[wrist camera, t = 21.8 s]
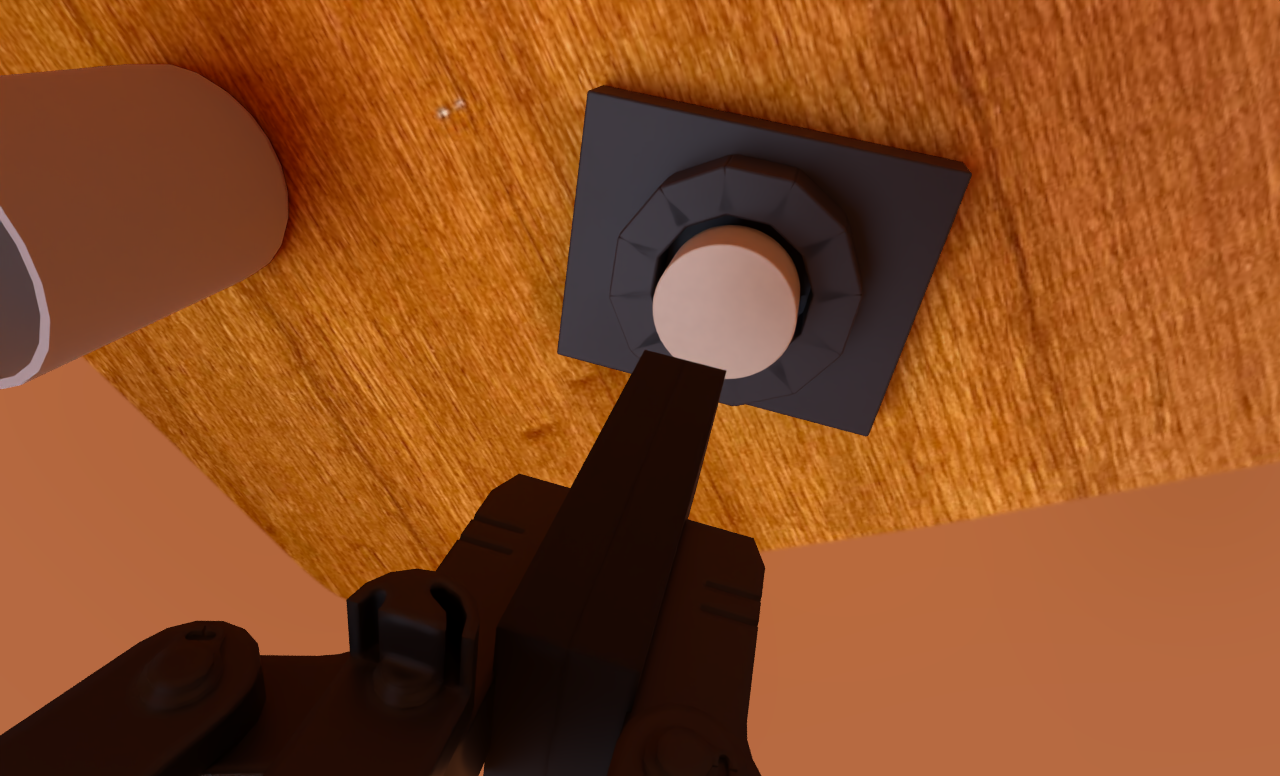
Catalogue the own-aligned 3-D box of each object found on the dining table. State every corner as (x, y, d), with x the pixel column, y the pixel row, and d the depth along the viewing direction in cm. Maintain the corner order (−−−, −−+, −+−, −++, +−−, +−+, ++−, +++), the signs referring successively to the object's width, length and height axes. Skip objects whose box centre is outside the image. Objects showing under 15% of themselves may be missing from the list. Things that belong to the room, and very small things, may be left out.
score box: (964, 162, 19) (985, 187, 16) (866, 414, 23) (870, 467, 20) (602, 84, 20) (567, 97, 17) (570, 336, 24) (538, 377, 21)
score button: (817, 242, 18) (815, 264, 17) (780, 365, 20) (775, 394, 18) (679, 210, 18) (666, 228, 17) (655, 333, 20) (641, 359, 19)
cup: (325, 269, 25) (101, 387, 18) (111, 285, 28) (-162, 392, 20) (246, 44, 22) (-70, 69, 14) (13, 88, 25) (-355, 127, 17)
